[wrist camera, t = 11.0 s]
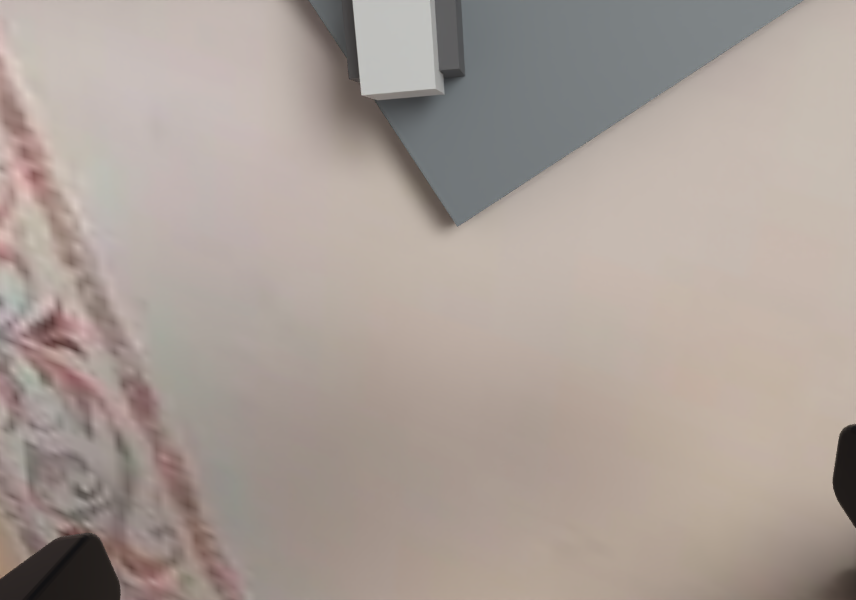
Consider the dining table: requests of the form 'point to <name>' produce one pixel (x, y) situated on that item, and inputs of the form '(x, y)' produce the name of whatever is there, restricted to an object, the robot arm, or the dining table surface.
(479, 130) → the base
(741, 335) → the dining table surface
